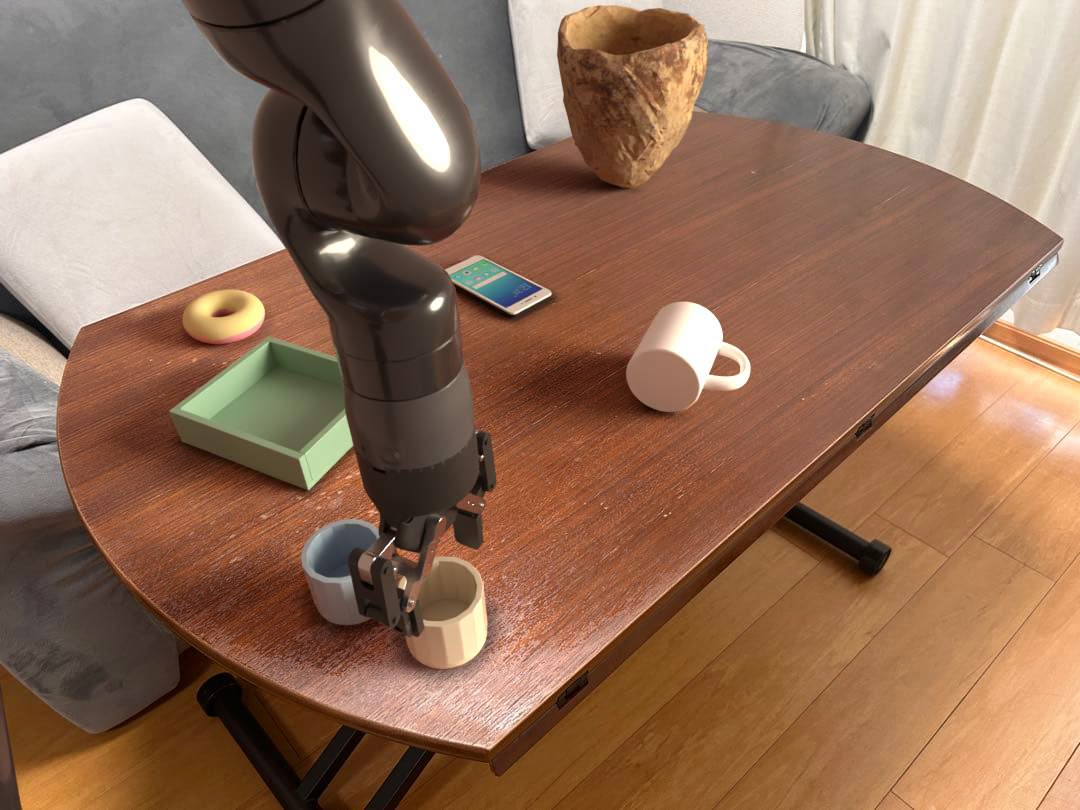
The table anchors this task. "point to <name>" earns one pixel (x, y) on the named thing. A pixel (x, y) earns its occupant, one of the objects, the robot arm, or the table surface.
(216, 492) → the table surface
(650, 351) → the mug
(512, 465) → the table surface
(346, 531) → the gray cup
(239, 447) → the tub
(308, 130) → the robot arm
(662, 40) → the rough brown clay pot
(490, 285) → the smartphone
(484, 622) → the cream cup
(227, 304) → the donut
